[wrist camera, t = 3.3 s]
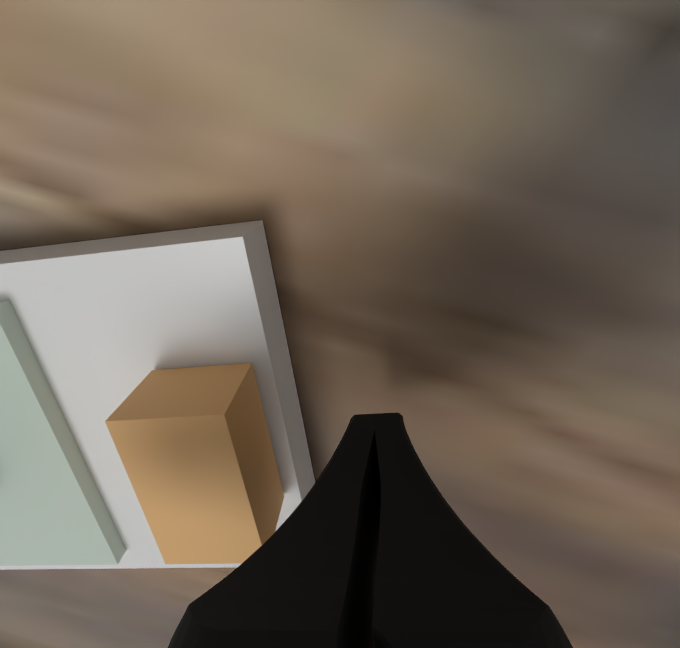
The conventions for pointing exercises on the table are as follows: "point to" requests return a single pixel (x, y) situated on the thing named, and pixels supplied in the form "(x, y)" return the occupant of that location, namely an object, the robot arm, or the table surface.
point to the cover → (44, 470)
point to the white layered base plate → (155, 345)
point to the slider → (200, 462)
